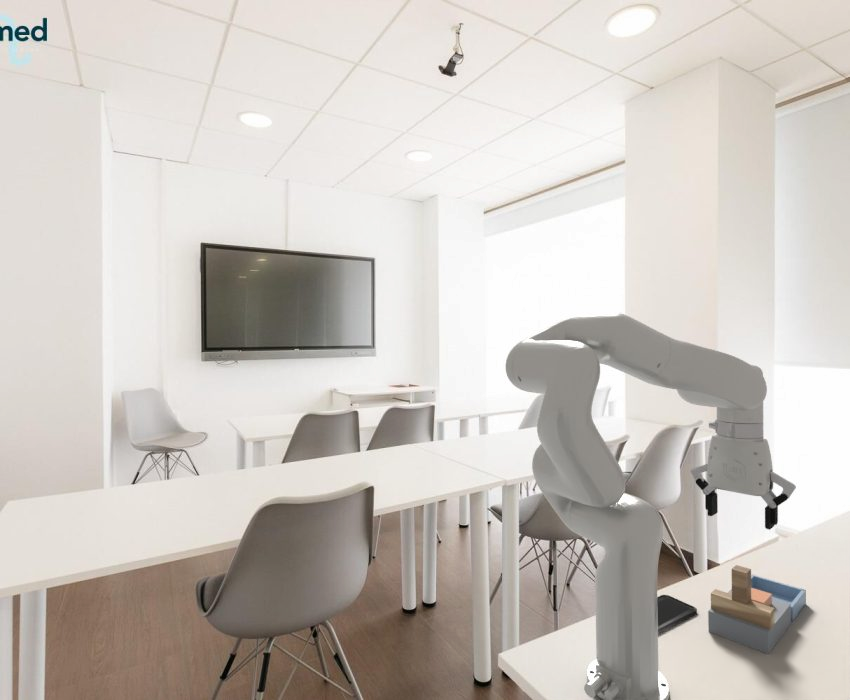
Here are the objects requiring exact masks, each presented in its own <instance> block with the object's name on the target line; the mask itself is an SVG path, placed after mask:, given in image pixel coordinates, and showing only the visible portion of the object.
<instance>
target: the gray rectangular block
mask: <svg viewBox="0 0 850 700" xmlns="http://www.w3.org/2000/svg"><path fill="white" fill-rule="evenodd" d="M727 593H729V594H732V588H731V589H730V590H729V591H728V592H727ZM770 607H773V608H774V614H775V624H774V626H773V627H772V628H771V629H768V628H765V627H762V626H760V625H757V624H754V623H751V622H748V621H745V620H742V619H740V618H737V617H734V616H731V615H728V614H725V613H723V612H720V611H717V610H714V609H711V608H709V609H708V611H707V612H708V613H707V615H708V616H707V617H708V632H710V633H712V634H715V635H717V636H720V637H722V638H725V639H727V640H730V641H733V642H735V643H738V644H741V645H743V646H746V647H749V648H752V649H754V650H756V651H759V652H762V653H765V655H769V654H770V653H771V651H773V649H774V648H775V646H776V645H777V643H778V642H779V641H780V640H781V638H782V637H783V636H784V634H785V633H786V632H787V630H788V629H789V627H790V626H791V625H792V622H791V604H789V603H786V602H782V601H779V600H776V599H773V598H772V604H771V606H770Z"/></svg>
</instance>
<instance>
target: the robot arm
mask: <svg viewBox="0 0 850 700" xmlns="http://www.w3.org/2000/svg"><path fill="white" fill-rule="evenodd" d="M600 364H601V365H605V366H608V367H611V368H613V369H615V370H618V371H620V372H623V373H624V374H627V375H630V376H631V377H634V378H635V379H638V380H640V381H642V382H645V383H646V384H647V383H648V384H650V385H652V386H656V387H661V388H665V389H670V390H671V389H672V390H676V391H677V394H678V395H679V397H680V398H681V399H682V400H683V401H686V402H687V403H688V404H689V403H690V404H692V405H695V406H703V407H711V408H716V419H715V420H713V421H709V423H708V428H709V429H713V430H715V434H714V435H711V438H710V442H709V448H708V457H707V463H705V464H701V465H699V466H697V467H694V468H691V469H690V473H691V475H692V477H693V479H694V481H695V484H696V485H697V486H698V488H700V489H701V491H702V494H703V495H704V496H705V497H704V500H705V501H704V503H705V505H704V506H705V510H707V516H708V517H713V516H714V515H717V514H718V493H717V492H716V490H722V491H726V492H730V493H736V494H742V495H747V496H748V495H749V496H753V497H761V498H762V499H763V501H764V502H765V504H766V506H765V507H764V528H765V529H766V530H771V529H772V528H774V527H775V526H777V525H778V522H779V513H778V512H779V506H780V505H781V504H783V503H785V502H786V501H787V500H788V499H790V497H791V496H792V494H793V493H794V492H795V490H796V487H797V486H796V485H795V484H794V483H793V482H792V481H791V482H790V481H789V480H787V479H786V478H784V477H783V476H780V475H779V474H777V473H775V472H774V470H773V461H772V455H771V450H770V445H769V441H768V439H767V438H764V401H765V399H766V396H767V392H768V388H767V382H766V380H765V377H764V372H763V370H762V368H761V367H759V366H757V365H753V364H750V363H748V362H747V361H745V360H743V359H741V358H738V357H736V356H735V355H731V354H728V353H726V352H722V351H719V350H715V349H712V348H707V347H703V346H701V345H697V344H694V343H690V342H687V341H682V340H679V339H674V338H673V337H671V336H668V335H667V334H665V333H662V332H660V331H658V330H656V329H655V328H653V327H650V326H649V325H647V324H646V323H645V324H644V323H643V322H640V321H639V320H636V319H635V318H633V317H631V316H629V315H626V314H624V313H622V312H615V311H604V312H594V313H593V312H591V313H579V314H574V315H571V316H568V317H566V318H564V319H562V320H560V321H558V322H556V323H554V324H552V325H550V326H548V327H546V328H544V329H542V330H541V331H539V332H536V333H534V334H533V335H531V336H529V337H526V338H525V339H523V340H522V341H519V342H518V343H516V345H515V346H513V347H512V348H511V350H510V351H509V353H508V355H507V357H506V361H505V373H506V376H507V378H508V380H509V381H510V383H511V384H512V385H513V386H514V387H515V388H517V389H518V390H520V391H524V392H528V393H534V394H540V395H541V394H542V395H543V399H542V401H541V402H542V403H541V406H540V411H539V414H538V419H537V424H536V425H537V426H536V431H537V437H538V440H539V441H540V444H539V445H538V447H537V448H536V450H535V451H534V454H533V457H532V464H531V467H532V468H531V469H532V474H533V475H532V476H533V478H534V481H535V483H536V485H537V487H538V489H540V492H541V493H542V494H543V496H544V497H545V499H546V501H548V503H549V504H550V506H551V507H552V509H553V510H554V512H555V514H556V515H558V518H560V520H561V521H562V523H563V524H564V525H565V526H566V527H567V528H568V529H569V531H572V532H573V533H574V534H577V536H580V537H582V538H584V539H586V540H588V541H590V542H592V543H595V544H596V545H598V546H599V547H602V548H603V549H604V556H603V557H602V559H601V560H600V562H599V563H598V565H597V567H596V570H595V574H594V575H595V576H594V589H595V590H594V591H595V639H596V640H595V642H596V643H595V644H596V645H595V647H596V649H595V650H596V651H595V652H596V659H595V660H594V659H593V661H592V662H590V664H589V665H588V666H587V667H588V668H587V670H586V675H587V676H586V680H587V683H585V685H584V686H583V687H584V688H583V689H584V692H585V694H586V695H587V696H588V697H589V698H591V699H592V698H595V697H596V696H597V697H598V698H599V699H601V700H669V698H670V685H669V683H668V680H667V679H666V678H665V676H664V675H663V673H661V672H660V671H659V634H658V606H657V597H658V570H659V569H658V568H659V567H658V566H659V558H660V553H661V548H662V543H663V538H664V530H665V529H664V528H665V527H664V522H663V519H662V516H661V515H660V513H659V511H658V510H657V509H656V508H655V507H654V506H653V505H652V504H651V503H649V502H648V501H646V500H644V499H642V498H640V497H638V496H635V495H632V494H629V493H626V480H625V475H624V472H623V470H622V468H621V466H620V464H619V462H618V460H617V459H616V457H615V456H614V454H613V452H612V451H611V449H610V447H609V446H608V444H607V443H606V441H605V440H604V438H603V437H602V435H601V434H600V431H599V430H598V428H597V427H596V424H595V423H594V420H593V415H592V413H593V412H592V407H593V402H594V398H595V395H596V391H597V387H598V386H599V385H598V384H599V381H600V376H601V365H600ZM705 472H706V479H705V478H704V477H703V475H702V473H705ZM774 484H776V485H778V486H779V487H781V488H782V491H781V493H780V494H779V495H778V496H777V495H776V493H775V492H774V491H773V489H774Z"/></svg>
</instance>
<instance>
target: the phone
mask: <svg viewBox="0 0 850 700" xmlns="http://www.w3.org/2000/svg"><path fill="white" fill-rule="evenodd" d="M657 606H658V635H659V634H662V633H663V632H664V633H665V631H668V630H670V629H671V628H673V627H675V626H677V625H679V624H681V623H682V622H685V621H686V620H688V619H690V618H692V617H694V616H696V615H697V614H698V609H697V607H695V606H693V605H691V604H689V603H686V602H684V601H683V600H682V601H681V600H680V599H677V598H675V597H673V596H671V595H668V594H662V595H659V596H657Z"/></svg>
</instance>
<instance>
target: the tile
mask: <svg viewBox="0 0 850 700" xmlns="http://www.w3.org/2000/svg"><path fill="white" fill-rule="evenodd" d="M751 601H754V602H757V603H760V604H763V605H766V606H769V607H770V606H771V604H772V594H771V593H767V592H764V591H761V590H758V589H754V588H751Z"/></svg>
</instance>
